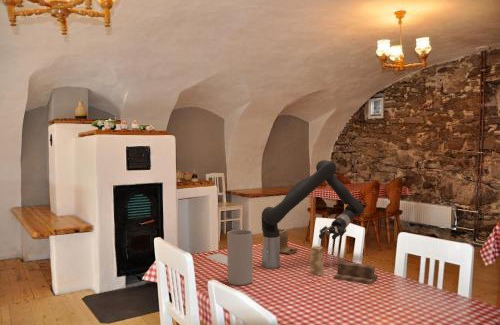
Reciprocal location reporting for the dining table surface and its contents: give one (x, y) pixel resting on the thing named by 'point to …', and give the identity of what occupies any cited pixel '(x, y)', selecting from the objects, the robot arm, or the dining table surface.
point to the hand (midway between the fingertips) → (326, 237)
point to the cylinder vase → (240, 257)
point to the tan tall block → (316, 260)
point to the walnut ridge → (355, 273)
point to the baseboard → (219, 258)
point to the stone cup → (285, 243)
